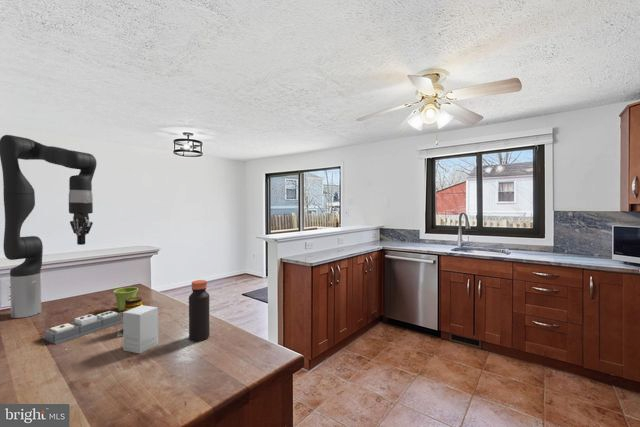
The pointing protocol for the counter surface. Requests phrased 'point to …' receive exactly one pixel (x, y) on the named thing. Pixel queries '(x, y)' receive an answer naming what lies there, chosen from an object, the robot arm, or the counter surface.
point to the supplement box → (140, 329)
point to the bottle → (199, 311)
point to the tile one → (61, 328)
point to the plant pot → (124, 296)
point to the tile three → (106, 314)
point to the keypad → (82, 329)
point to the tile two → (85, 319)
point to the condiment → (130, 305)
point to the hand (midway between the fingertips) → (81, 244)
